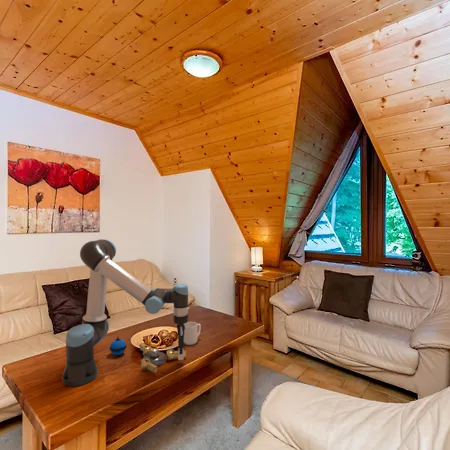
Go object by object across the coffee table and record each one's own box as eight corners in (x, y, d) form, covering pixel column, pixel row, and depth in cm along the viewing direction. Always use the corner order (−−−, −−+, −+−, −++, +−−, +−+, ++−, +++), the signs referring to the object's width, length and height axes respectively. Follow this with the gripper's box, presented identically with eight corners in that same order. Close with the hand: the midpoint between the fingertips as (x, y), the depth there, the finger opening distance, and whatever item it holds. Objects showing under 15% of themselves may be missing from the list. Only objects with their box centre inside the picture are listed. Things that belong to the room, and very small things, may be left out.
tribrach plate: (142, 368, 143) (142, 356, 143) (143, 357, 154) (143, 346, 154) (165, 365, 145) (165, 353, 145) (165, 355, 157) (165, 344, 157)
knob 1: (152, 353, 156) (152, 346, 156) (145, 356, 153) (145, 349, 153) (144, 347, 164) (144, 340, 163) (136, 350, 161) (136, 343, 160)
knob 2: (139, 368, 141) (139, 360, 141) (146, 364, 145) (146, 356, 145) (152, 374, 135) (152, 366, 135) (159, 370, 139) (159, 362, 139)
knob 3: (166, 360, 149) (166, 352, 149) (166, 356, 153) (166, 349, 153) (186, 358, 151) (186, 350, 151) (185, 354, 156) (185, 347, 155)
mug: (188, 347, 167) (188, 328, 167) (180, 342, 173) (180, 324, 173) (204, 341, 175) (204, 323, 174) (196, 336, 181) (196, 319, 181)
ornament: (109, 352, 160) (109, 335, 159) (125, 349, 163) (125, 332, 163) (109, 359, 152) (109, 341, 151) (126, 356, 155) (126, 338, 155)
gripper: (189, 318, 142) (189, 364, 142) (187, 309, 155) (187, 352, 155) (173, 319, 140) (174, 366, 141) (173, 310, 153) (173, 354, 154)
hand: (180, 359), depth 148 cm, fingers closed
